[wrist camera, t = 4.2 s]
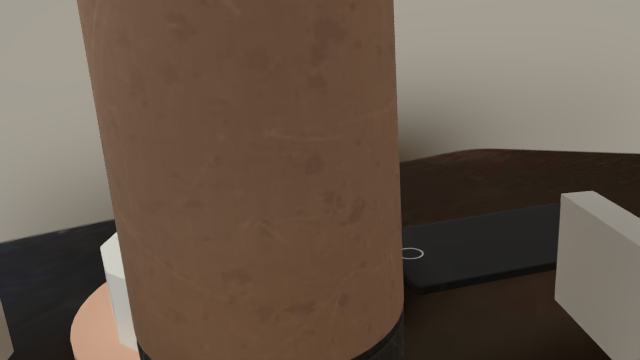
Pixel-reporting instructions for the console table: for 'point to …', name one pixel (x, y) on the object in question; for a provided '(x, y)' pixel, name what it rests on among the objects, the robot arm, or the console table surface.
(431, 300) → the console table surface
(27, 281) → the console table surface
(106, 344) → the white and pink ring
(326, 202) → the travel mug
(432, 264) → the cell phone
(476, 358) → the console table surface
